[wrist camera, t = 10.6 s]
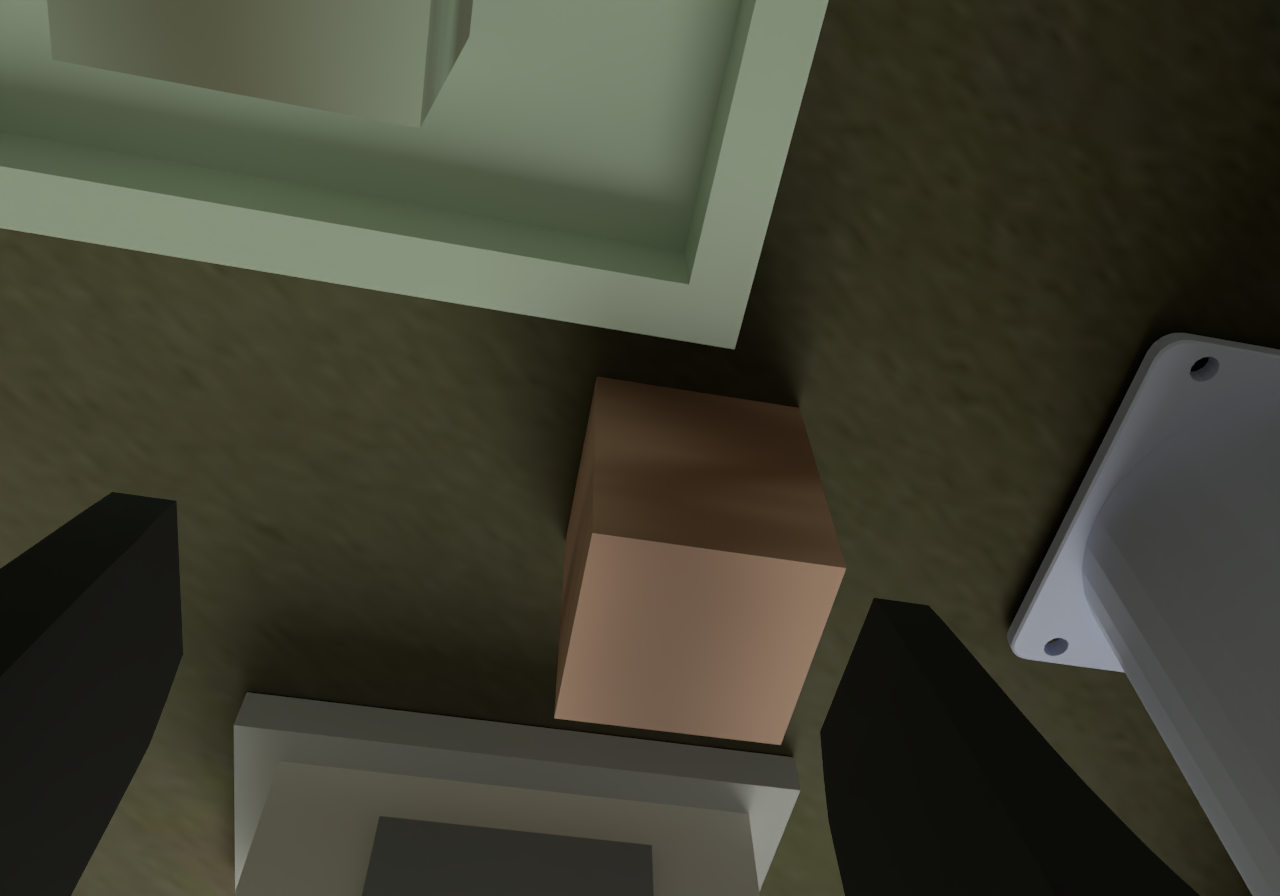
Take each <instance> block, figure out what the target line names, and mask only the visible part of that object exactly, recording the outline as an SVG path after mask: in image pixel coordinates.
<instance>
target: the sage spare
mask: <svg viewBox="0 0 1280 896" xmlns="http://www.w3.org/2000/svg"><path fill="white" fill-rule="evenodd" d="M47 6H48V17H49V28H50V39H51V50H52V60H56V61H61V62H67V63H72V64H78V65H83V66H88V67H94V68H99V69H104V70H110V71H115V72H120V73H126V74H131V75H137V76H142V77H147V78H153V79H158V80H163V81H169V82H174V83H180V84H185V85H190V86H196V87H201V88H206V89H212V90H217V91H223V92H228V93H233V94H239V95H244V96H249V97H255V98H260V99H266V100H271V101H276V102H282V103H287V104H292V105H298V106H303V107H309V108H314V109H319V110H325V111H330V112H335V113H341V114H346V115H351V116H357V117H362V118H368V119H373V120H378V121H384V122H389V123H394V124H400V125H405V126H411V127H416V128H420V127H421V125H422V123H423V122H424V120H425V118H426V116H427V114H428V112H429V110H430V109H431V107H432V105H433V103H434V101H435V99H436V98H437V96H438V94H439V92H440V90H441V88H442V86H443V85H444V83H445V81H446V79H447V77H448V75H449V73H450V72H451V70H452V68H453V66H454V64H455V62H456V60H457V59H458V57H459V55H460V53H461V51H462V49H463V48H464V46H465V44H466V42H467V40H468V38H469V35H470V25H471V16H472V6H473V0H47Z"/></svg>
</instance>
